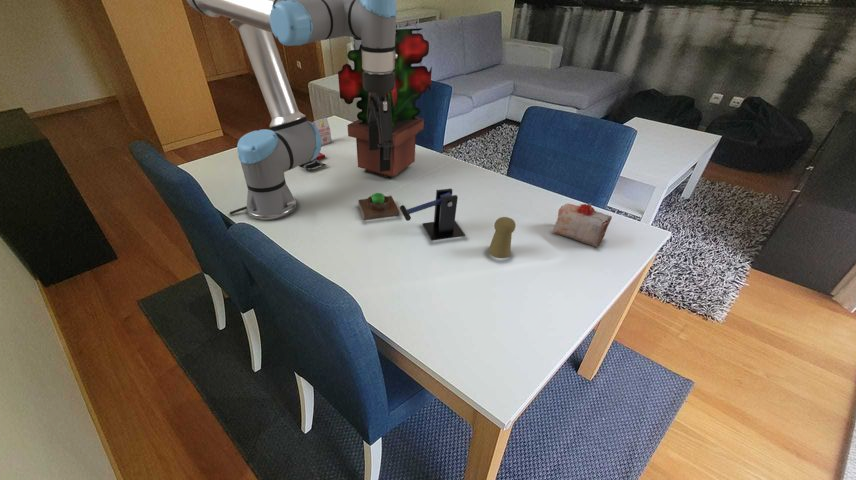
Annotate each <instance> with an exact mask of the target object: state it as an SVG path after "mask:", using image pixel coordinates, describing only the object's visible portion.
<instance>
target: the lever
mask: <svg viewBox="0 0 856 480" xmlns="http://www.w3.org/2000/svg"><path fill="white" fill-rule="evenodd" d="M452 195H453V194H452ZM452 195H451V194H450V193H449V192H448V193H445V194H442V195H440V199H437V200H436V199H434V200H432V201H428V202H425V203H423V204H420V205H416V206H413V207H411V208H407V207H406V206H405V204H401V205H400V206H399V211H400V212H401V214H402V215H403V217H404V220H405V221H407V222H409V221H411V219H412V216H411V215H412V214H414V213H417V212H420V211H423V210H426V209H429V208H433V207H435V205H438V204H441V197H444V196H452Z"/></svg>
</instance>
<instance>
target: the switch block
mask: <svg viewBox="0 0 856 480" xmlns="http://www.w3.org/2000/svg"><path fill="white" fill-rule="evenodd" d="M384 198H385V201H384V202H383V203H379V204H376V203H373V202H372V195H370V196H369V197H367V198H361V199H358V201H357V203H358V207H359V210H360V212H361V216H362V218H363V221H368V220H369V221H370V220H376V219H384V218H385V219H386V218H391V217H399V216H400V209H399V207H398V206H397V204H396V201H395V200H394V198H393V196H392V195H385V194H384Z"/></svg>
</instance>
